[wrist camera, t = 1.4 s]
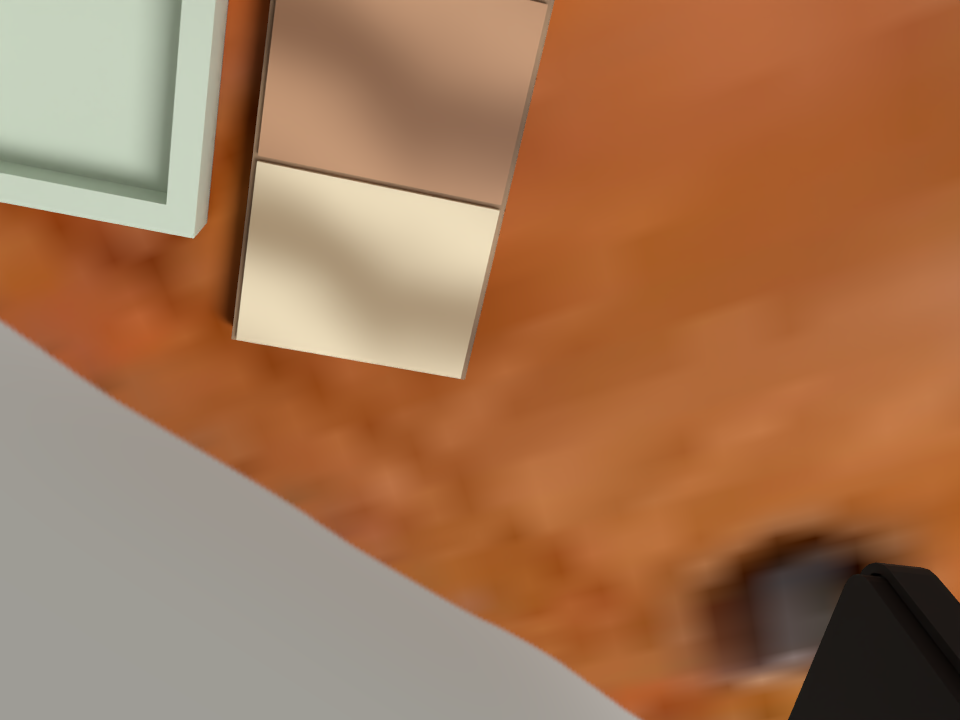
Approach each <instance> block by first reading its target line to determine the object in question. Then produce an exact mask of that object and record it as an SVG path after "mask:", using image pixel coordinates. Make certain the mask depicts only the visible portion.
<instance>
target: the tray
mask: <svg viewBox="0 0 960 720" xmlns="http://www.w3.org/2000/svg"><path fill="white" fill-rule="evenodd" d="M227 10H228V0H0V202H4V203H9V204H14V205H20V206H25V207H30V208H36V209H41V210H46V211H52V212H57V213H62V214H67V215H73V216H78V217H83V218H89V219H94V220H99V221H104V222H110V223H115V224H120V225H126V226H131V227H136V228H141V229H147V230H152V231H157V232H163V233H168V234H173V235H179V236H184V237H189V238H194V237H195V236H196V235H197V234H198V233H199V231H200V230H201V229H202V228H203V227H204V225H205V224H206V223H207V216H208V205H209V195H210V185H211V175H212V164H213V154H214V144H215V133H216V123H217V113H218V102H219V92H220V82H221V72H222V61H223V51H224V41H225V30H226V20H227Z"/></svg>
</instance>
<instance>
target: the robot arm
mask: <svg viewBox="0 0 960 720" xmlns="http://www.w3.org/2000/svg"><path fill="white" fill-rule="evenodd" d="M788 720H960V603H959V602H958V601H957V599H956V598H955V597H954V596H953V595H952V594H951V592H950V591H949V590H948V589H947V588H946V587H945V585H944V584H943V583H942V582H941V581H940V580H939V578H938V577H937V576H936V575H935V574H934V573H932V572H931V571H930V570H928V569H925V568H921V567H912V566H903V565H894V564H885V563H872V564H869V565H868V566H866V567H865V568H864V569H863V570H862V572H861V573H860V574H857V575H853V576H852V577H850V578H849V579H848V581H847V582H846V584H845V586H844V588H843V591H842V593H841V595H840V598H839V600H838V603H837V605H836V607H835V610H834V612H833V614H832V617H831V619H830V622H829V624H828V626H827V629H826V631H825V633H824V636H823V638H822V641H821V643H820V645H819V648H818V650H817V652H816V655H815V657H814V660H813V662H812V664H811V667H810V669H809V672H808V674H807V676H806V679H805V681H804V683H803V686H802V688H801V691H800V693H799V695H798V698H797V700H796V702H795V705H794V707H793V710H792V712H791V714H790V717H789V719H788Z"/></svg>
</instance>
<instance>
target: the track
mask: <svg viewBox="0 0 960 720" xmlns="http://www.w3.org/2000/svg"><path fill="white" fill-rule="evenodd" d="M553 4H554V0H270V9H269V18H268V26H267V35H266V44H265V52H264V61H263V70H262V79H261V87H260V96H259V105H258V113H257V122H256V131H255V139H254V148H253V157H252V165H251V174H250V183H249V192H248V200H247V209H246V218H245V226H244V235H243V244H242V252H241V261H240V270H239V278H238V287H237V296H236V305H235V313H234V322H233V331H232V339H234V340H240V341H246V342H252V343H257V344H263V345H269V346H275V347H280V348H286V349H292V350H298V351H303V352H309V353H315V354H321V355H326V356H332V357H338V358H343V359H349V360H355V361H361V362H366V363H372V364H378V365H384V366H389V367H395V368H401V369H407V370H412V371H418V372H424V373H430V374H435V375H441V376H447V377H453V378H458V379H464V380H465V377H466V372H467V368H468V364H469V360H470V355H471V351H472V347H473V343H474V339H475V334H476V330H477V326H478V322H479V317H480V313H481V309H482V305H483V300H484V296H485V292H486V288H487V284H488V279H489V275H490V271H491V267H492V262H493V258H494V254H495V250H496V245H497V241H498V237H499V233H500V229H501V224H502V220H503V216H504V212H505V207H506V203H507V199H508V195H509V190H510V186H511V182H512V178H513V174H514V169H515V165H516V161H517V157H518V152H519V148H520V144H521V140H522V135H523V131H524V127H525V123H526V119H527V114H528V110H529V106H530V102H531V97H532V93H533V89H534V85H535V80H536V76H537V72H538V68H539V64H540V59H541V55H542V51H543V47H544V42H545V38H546V34H547V30H548V25H549V21H550V17H551V13H552V9H553Z"/></svg>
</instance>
